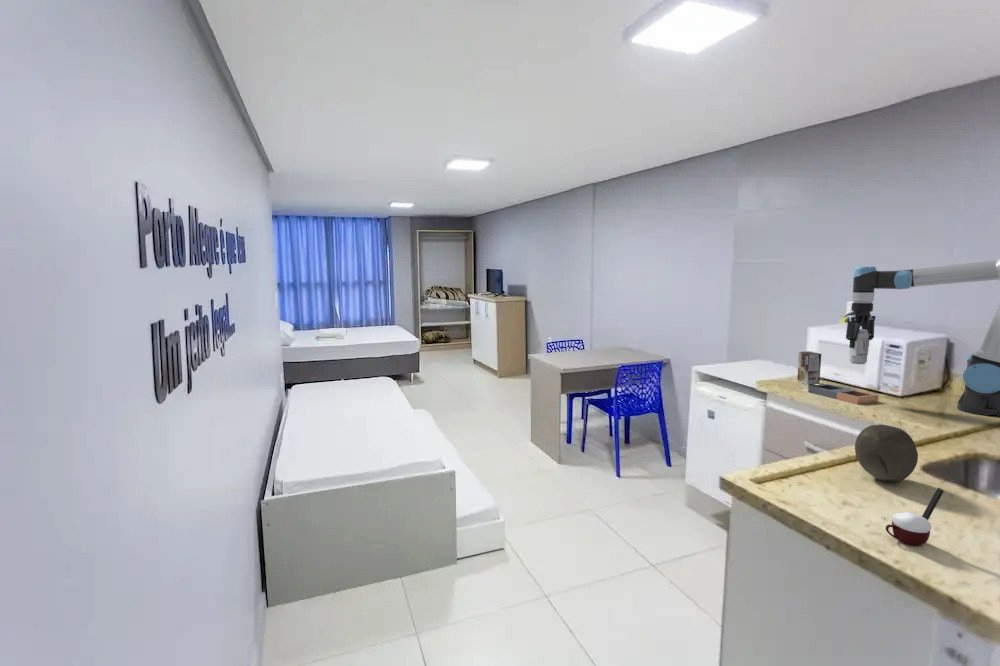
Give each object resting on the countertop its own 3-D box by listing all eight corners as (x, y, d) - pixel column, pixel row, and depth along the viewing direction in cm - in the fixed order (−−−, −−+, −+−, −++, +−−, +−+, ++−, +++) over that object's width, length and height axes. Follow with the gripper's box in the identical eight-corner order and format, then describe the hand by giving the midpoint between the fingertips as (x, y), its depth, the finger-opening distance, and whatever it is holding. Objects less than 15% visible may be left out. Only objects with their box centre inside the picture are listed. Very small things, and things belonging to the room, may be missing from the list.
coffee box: (820, 385, 246) (822, 353, 245) (807, 385, 246) (809, 354, 245) (809, 381, 255) (810, 351, 254) (796, 381, 256) (798, 351, 254)
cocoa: (885, 544, 103) (887, 490, 102) (883, 530, 109) (884, 478, 107) (945, 555, 98) (948, 499, 97) (939, 540, 103) (942, 486, 102)
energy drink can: (861, 365, 211) (863, 330, 210) (846, 362, 217) (848, 329, 215) (869, 363, 214) (872, 329, 212) (855, 361, 219) (857, 328, 217)
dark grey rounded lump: (930, 487, 129) (935, 432, 127) (884, 492, 127) (889, 436, 125) (881, 467, 143) (885, 417, 141) (838, 470, 141) (842, 420, 139)
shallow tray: (808, 391, 233) (808, 385, 233) (827, 390, 237) (827, 383, 236) (857, 404, 210) (857, 397, 210) (878, 402, 214) (878, 395, 213)
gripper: (870, 301, 218) (866, 352, 221) (837, 302, 213) (834, 354, 216) (887, 302, 211) (883, 354, 214) (854, 303, 206) (850, 357, 209)
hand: (858, 354), depth 215 cm, fingers closed on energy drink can, 6 cm apart
